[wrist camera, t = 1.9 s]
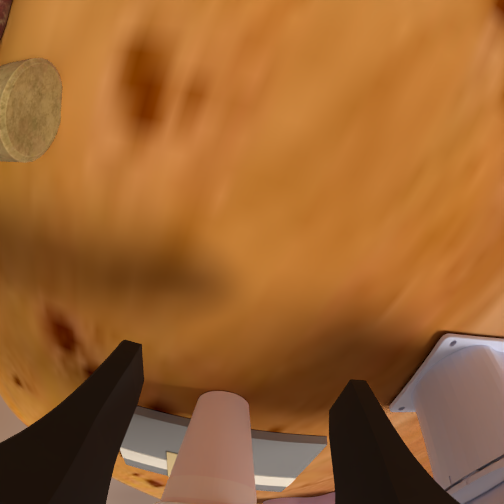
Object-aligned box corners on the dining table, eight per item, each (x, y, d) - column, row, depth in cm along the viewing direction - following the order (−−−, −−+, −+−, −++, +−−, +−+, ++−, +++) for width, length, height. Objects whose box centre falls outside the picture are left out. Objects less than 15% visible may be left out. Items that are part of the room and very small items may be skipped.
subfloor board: (326, 436, 23) (327, 446, 22) (281, 486, 30) (281, 493, 29) (109, 397, 22) (105, 406, 21) (127, 458, 29) (125, 465, 28)
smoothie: (223, 433, 23) (203, 588, 11) (161, 396, 21) (116, 571, 9) (286, 410, 21) (284, 595, 9) (223, 366, 19) (189, 594, 6)
